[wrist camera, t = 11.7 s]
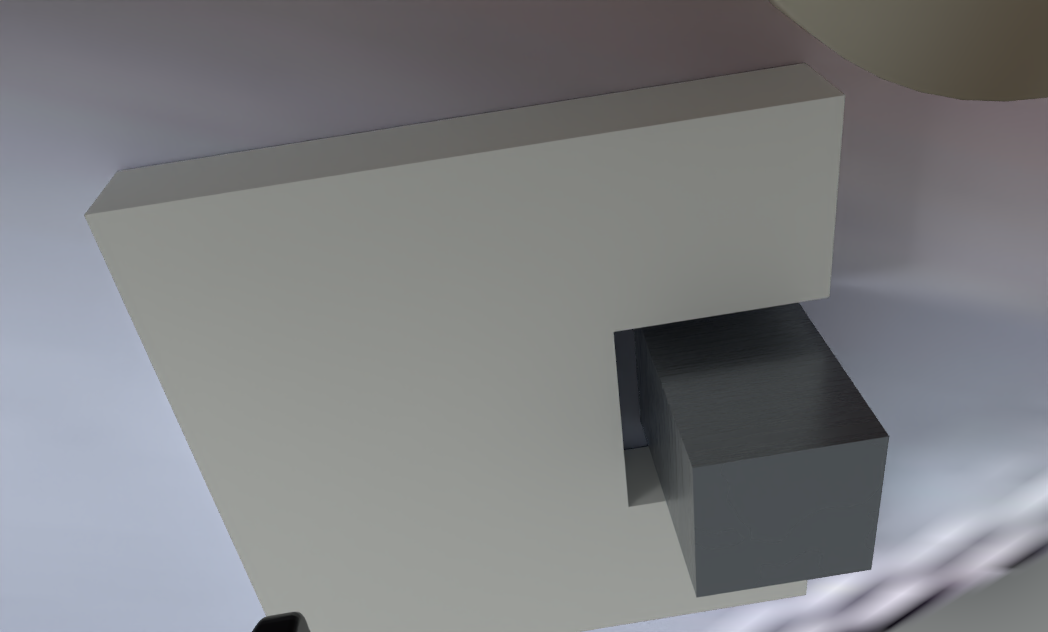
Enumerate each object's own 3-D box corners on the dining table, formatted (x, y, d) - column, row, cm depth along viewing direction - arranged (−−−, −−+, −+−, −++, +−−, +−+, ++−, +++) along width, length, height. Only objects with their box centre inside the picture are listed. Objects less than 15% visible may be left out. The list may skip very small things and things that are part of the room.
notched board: (303, 616, 25) (294, 678, 23) (116, 171, 17) (84, 214, 16) (780, 539, 25) (806, 595, 23) (805, 62, 17) (845, 95, 16)
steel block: (640, 421, 22) (696, 597, 18) (632, 304, 20) (692, 467, 16) (778, 399, 22) (871, 569, 18) (783, 280, 20) (889, 436, 16)
